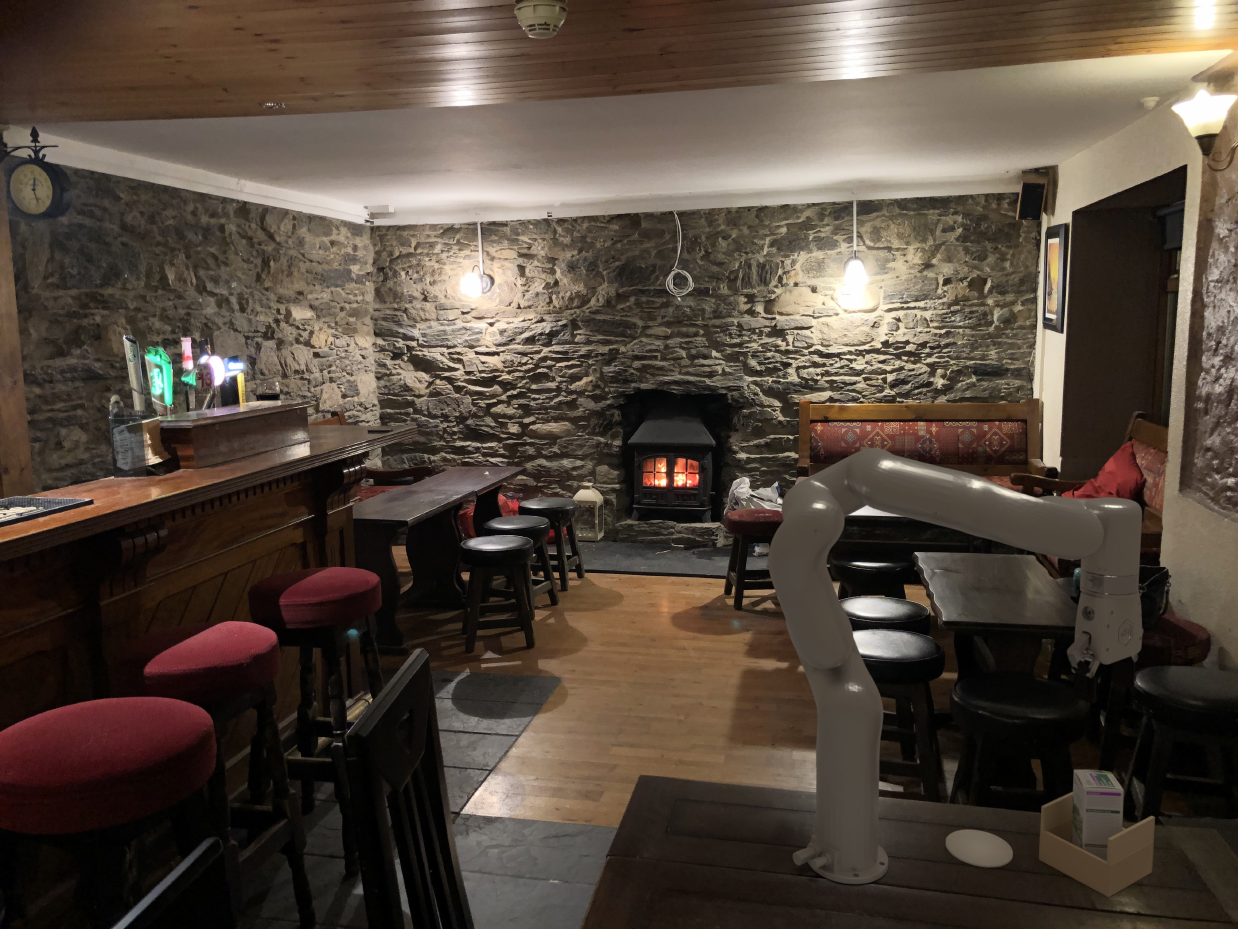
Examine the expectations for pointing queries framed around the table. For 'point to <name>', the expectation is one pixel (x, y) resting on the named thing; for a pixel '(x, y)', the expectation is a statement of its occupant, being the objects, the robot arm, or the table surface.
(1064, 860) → the wooden frame
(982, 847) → the beer mat
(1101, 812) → the syrup box
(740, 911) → the table surface
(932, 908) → the table surface
